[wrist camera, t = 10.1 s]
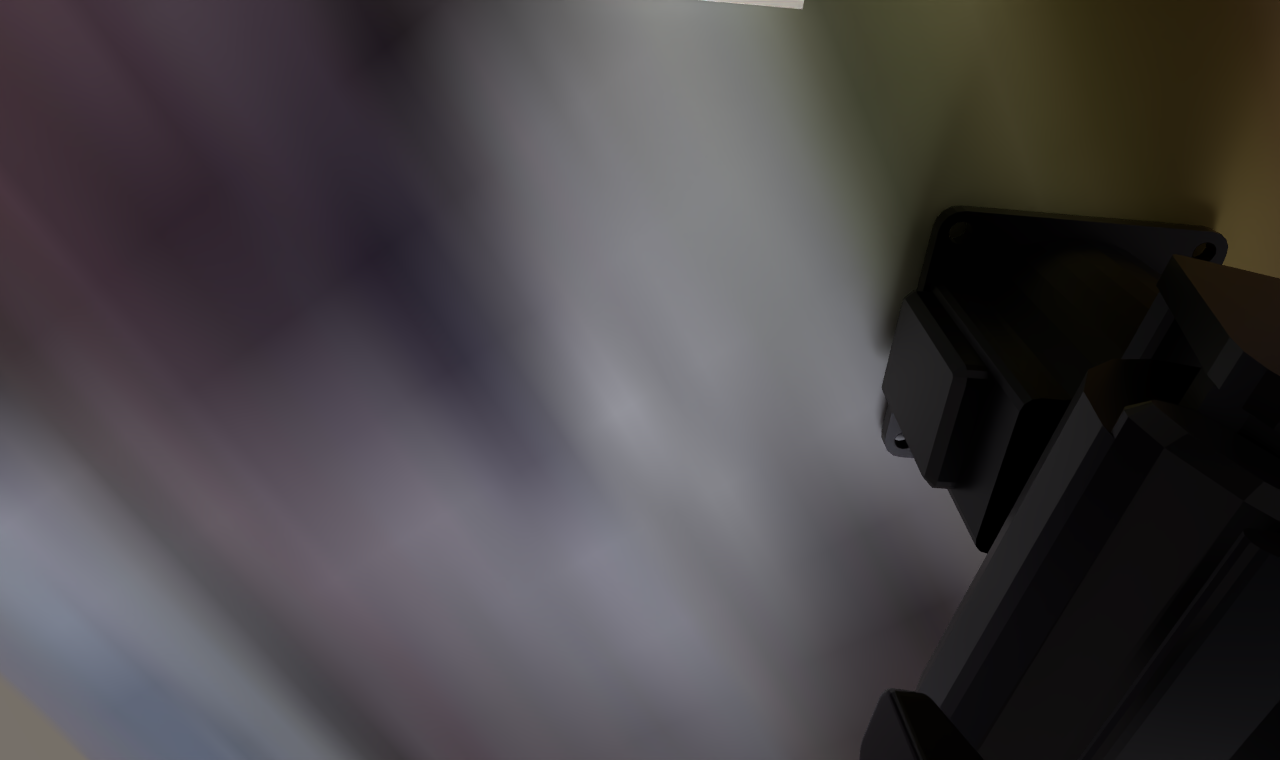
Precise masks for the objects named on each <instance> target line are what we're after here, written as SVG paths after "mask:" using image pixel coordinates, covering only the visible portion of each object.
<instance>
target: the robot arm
mask: <svg viewBox="0 0 1280 760" xmlns="http://www.w3.org/2000/svg"><path fill="white" fill-rule="evenodd" d="M958 222H966V230H965V232H964V233H963V234H962V235H961V236H959V237H956V238H951V237H949V231H950V229H951V227H952V226H953V225H955V224H956V223H958ZM1202 243H1206V248H1205V250H1204V251H1203V253H1202V254H1200V255H1199V256H1197V257H1193V258H1192V254H1193V251H1194V250H1195V248H1196V247H1197V246H1199V245H1200V244H1202ZM1227 249H1228V245H1227V241H1226V239H1225V238H1224V237H1223V236H1222V235H1221V234H1220V233H1218V232H1216V231H1214V230H1213V229H1211V228H1208V227H1204V226H1196V225H1184V224H1172V223H1160V222H1148V221H1136V220H1124V219H1113V218H1101V217H1089V216H1077V215H1065V214H1053V213H1041V212H1029V211H1017V210H1006V209H994V208H982V207H970V206H954V207H950V208H948V209H946V210H944V211H943V212H942V213H941V214H940V215H939V216H938V217H937V218H936V221H935V223H934V225H933V229H932V233H931V236H930V240H929V244H928V248H927V252H926V256H925V260H924V264H923V268H922V272H921V276H920V280H919V284H918V288H917V291H915V290H913V291H912V292H911V293H910V294H909V295H908V296H906V297H905V298H904V299H903V302H902V306H901V310H900V315H899V319H898V323H897V327H896V331H895V335H894V339H893V343H892V347H891V351H890V355H889V359H888V363H887V368H886V372H885V376H884V380H883V384H882V390H883V392H884V395H885V397H886V399H887V401H888V407H887V411H886V415H885V419H884V423H883V427H882V435H881V437H882V440H883V442H884V444H885V446H886V448H887V450H888V452H890V453H891V454H892V455H895V456H899V457H907V458H914V459H915V461H916V464H917V466H918V468H919V470H920V472H921V474H922V476H923V477H924V479H925V480H926V481H927V482H928V483H929V485H930V486H931V487H932V488H945V489H948V491H949V493H950V495H951V497H952V499H953V501H954V503H955V505H956V507H957V509H958V511H959V513H960V515H961V517H962V519H963V521H964V523H965V525H966V527H967V529H968V531H969V533H970V535H971V537H972V539H973V541H974V543H975V545H976V547H977V548H978V549H979V551H981V552H984V553H987V556H986V558H985V559H984V561H983V563H982V565H981V567H980V569H979V570H978V572H977V574H976V576H975V578H974V579H973V581H972V583H971V585H970V587H969V589H968V590H967V592H966V594H965V596H964V598H963V600H962V601H961V603H960V605H959V607H958V609H957V611H956V612H955V614H954V616H953V618H952V620H951V622H950V623H949V625H948V627H947V629H946V631H945V633H944V634H943V636H942V638H941V640H940V642H939V643H938V645H937V647H936V649H935V651H934V653H933V654H932V656H931V658H930V660H929V662H928V664H927V665H926V667H925V669H924V671H923V673H922V675H921V677H920V680H919V683H918V685H917V688H916V691H909V690H901V689H894V688H890V689H887V690H885V691H884V692H883V693H882V694H881V696H880V698H879V700H878V703H877V705H876V708H875V710H874V712H873V715H872V717H871V720H870V722H869V725H868V727H867V730H866V732H865V734H864V737H863V740H862V743H861V748H860V760H1280V279H1279V278H1275V277H1271V276H1267V275H1262V274H1258V273H1254V272H1250V271H1246V270H1241V269H1237V268H1233V267H1229V266H1225V265H1222V264H1223V261H1224V259H1225V257H1226V254H1227ZM900 433H903V436H904V438H905V440H900V441H898V440H895V438H896V436H897V435H899V434H900Z"/></svg>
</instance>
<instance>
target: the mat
mask: <svg viewBox="0 0 1280 760" xmlns="http://www.w3.org/2000/svg"><path fill="white" fill-rule="evenodd" d="M704 1H715V2H727V3H738V4H750V5H761V6H773V7H784V8H796V9H803V3H804V0H704Z"/></svg>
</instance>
